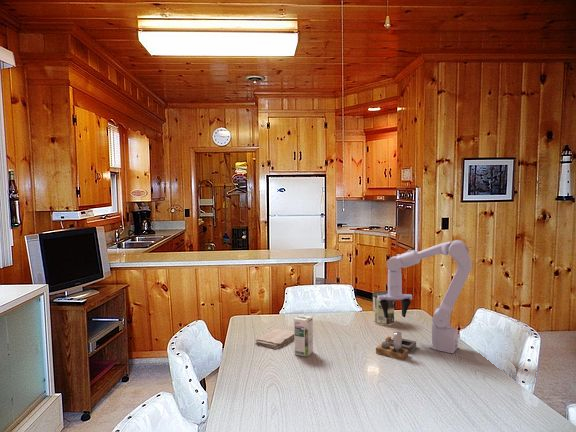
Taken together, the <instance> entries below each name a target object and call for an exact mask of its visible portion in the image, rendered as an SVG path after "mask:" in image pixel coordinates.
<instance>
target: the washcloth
mask: <svg viewBox="0 0 576 432" xmlns="http://www.w3.org/2000/svg"><path fill="white" fill-rule="evenodd" d="M294 340H295V339H294V330H287V329H282V328H275V329H273V330H271V331H269V332H267V333H265V334H263V335H262V336H259V337H258V338H256V339H255V345H258V346H260V345H261V347H266V348H270V349H274V350H275V349H276V350H277V349H280V348H282V347H284V346H285V345H287V344H289V343H290V342H292V341H294Z"/></svg>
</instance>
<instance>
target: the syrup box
mask: <svg viewBox="0 0 576 432" xmlns="http://www.w3.org/2000/svg"><path fill="white" fill-rule="evenodd" d="M313 318H314V317H313V316H308V315H301V314H299V315H298V316H296V317H295V318H294V319H293V326H294V327H293V331H294V339H293V340H294V355H295V356H302V357H305V358H308V357H310V356H311V354H312V353H313V352H314V345H313V344H314V342H313V341H314V339H313V337H314V334H313V333H314V329H313V328H314V327H313V326H314V325H313V324H314V322H313V321H314V320H313Z"/></svg>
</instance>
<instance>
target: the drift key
mask: <svg viewBox="0 0 576 432" xmlns="http://www.w3.org/2000/svg"><path fill="white" fill-rule="evenodd" d="M389 341H392V342H393V338H392V337H391V336H387V337H386V338H385V341H384V342H389Z"/></svg>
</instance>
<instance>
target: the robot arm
mask: <svg viewBox="0 0 576 432" xmlns="http://www.w3.org/2000/svg"><path fill="white" fill-rule="evenodd" d="M436 255H442V256H443V255H444V256H448V255H449V256H450V257H451V258H452V259H453V260H454V261H455V264H456V265H457V268H456V271H455V273H454V275H453V278H452V279H451V282H450V284H449V286H448V288H447V289H446V293H445V294H444V297H443V298H442V301H441V302H440V305H439V306H438V307H436V308H435V309H434V312H433V316H432V323H431V344H430V345H429V346H428V349H431V350H434V351H440V352H444V353H449V354H454V353H455V352H456V351H457V350H458V348H459V332H458V329H457V328H455V327H453V326H452V324H451V322H450V319H451V315H452V312H453V308H454V307H455V304H456V302H457V300H458V298H459V296H460V294H461V292H462V290H463V289H464V288H463V287H464V285H465V283H466V281H467V279H468V277H469V275H470V273H471V271H472V268H473V265H472V259H471V254H470V251H469V248H468V246H467V245H466V242H464V241H463V240H460V239H454V240H452V241H450V240H448V241H446V242H442V243H438V244H435V245H433V246H430V247H427V248H424V249H423V250H420V251H417V250H414V249H409V250H407V251H406V252H403V253H401V254H400V253H398V254H396V256H391V257H389V259H388V260H387V261H386V268H387V292H388V294H386V295H377V300H378V301H379V302H380V304H381V306H382V308H383V312H384V317H385V318H388V303H387V301H386V300H394V301H400V303H401V317H403V318H406V315H407V312H408V309H409V307H410V305H411V303H412V302H411V301H412V300H413V295H412V294H411V293H410V294H409V293H408V294H407V293H403V286H402V285H403V280H402V279H403V274H402V268H404V269H405V268H408V267H412V266H414V265H418V264H419V263H420V262H421V260H422V259H427V258H429V257H430V258H431V257H433V256H436Z"/></svg>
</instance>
